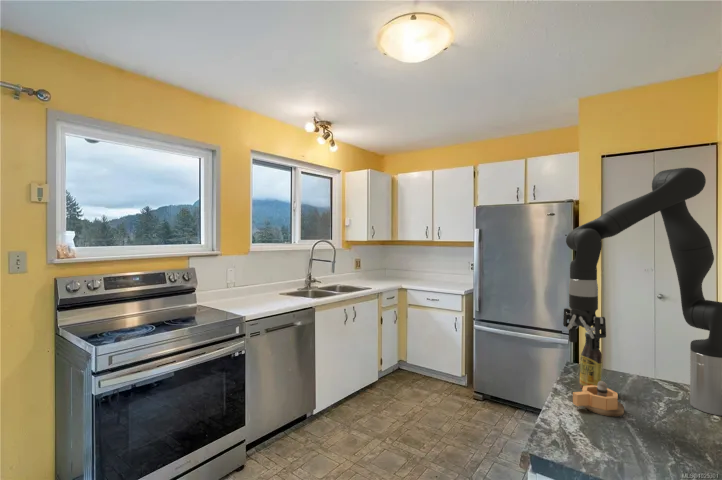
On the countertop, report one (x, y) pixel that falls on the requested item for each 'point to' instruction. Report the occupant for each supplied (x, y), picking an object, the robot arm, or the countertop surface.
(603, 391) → the round wooden base
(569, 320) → the robot arm
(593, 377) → the sauce bottle
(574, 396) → the ring
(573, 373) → the countertop surface
